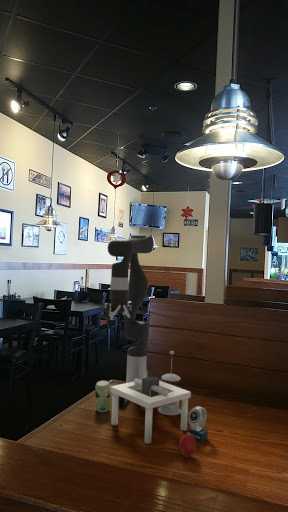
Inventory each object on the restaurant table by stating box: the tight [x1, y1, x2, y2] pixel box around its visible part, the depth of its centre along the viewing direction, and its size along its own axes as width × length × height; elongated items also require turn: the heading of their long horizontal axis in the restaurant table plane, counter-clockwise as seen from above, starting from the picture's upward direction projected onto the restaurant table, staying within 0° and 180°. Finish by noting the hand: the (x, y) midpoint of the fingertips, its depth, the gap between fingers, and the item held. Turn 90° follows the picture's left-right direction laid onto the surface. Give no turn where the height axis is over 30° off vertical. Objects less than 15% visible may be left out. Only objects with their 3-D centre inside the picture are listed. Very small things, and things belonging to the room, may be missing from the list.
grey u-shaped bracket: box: [140, 376, 160, 411], centre depth 151 cm, size 6×4×11 cm, turn 132°
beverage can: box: [94, 380, 111, 413], centre depth 165 cm, size 6×7×12 cm
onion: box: [178, 431, 198, 458], centre depth 128 cm, size 6×6×8 cm
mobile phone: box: [118, 396, 129, 408], centre depth 178 cm, size 5×3×15 cm
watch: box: [187, 405, 209, 444], centre depth 142 cm, size 6×8×11 cm
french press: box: [157, 350, 181, 416], centre depth 169 cm, size 10×12×25 cm
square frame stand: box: [110, 378, 192, 445], centre depth 151 cm, size 21×22×16 cm
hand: (118, 327), depth 165 cm, fingers open, 8 cm apart
